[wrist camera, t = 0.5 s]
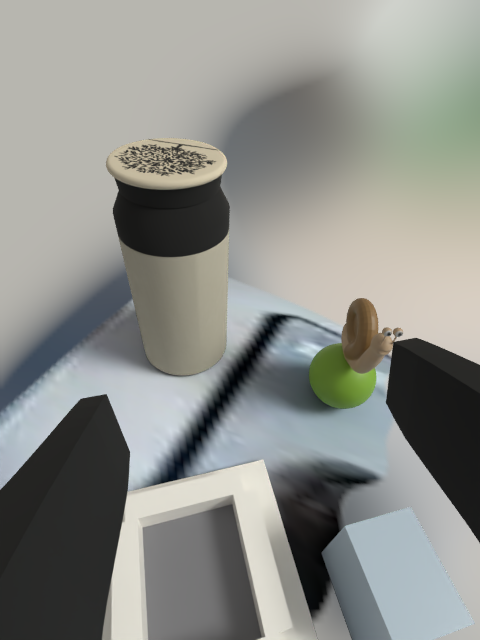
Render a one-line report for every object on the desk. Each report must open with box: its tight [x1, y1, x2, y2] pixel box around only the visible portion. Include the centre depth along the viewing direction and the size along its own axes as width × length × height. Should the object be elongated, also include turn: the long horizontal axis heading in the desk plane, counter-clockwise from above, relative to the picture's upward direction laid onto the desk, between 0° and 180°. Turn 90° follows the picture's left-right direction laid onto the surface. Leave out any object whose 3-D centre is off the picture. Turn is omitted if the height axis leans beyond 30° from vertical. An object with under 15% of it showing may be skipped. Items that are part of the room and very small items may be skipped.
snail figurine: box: [309, 298, 403, 409], centre depth 27 cm, size 5×6×12 cm
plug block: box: [322, 507, 475, 640], centre depth 19 cm, size 5×4×6 cm
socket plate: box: [102, 460, 318, 640], centre depth 20 cm, size 12×12×2 cm
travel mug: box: [106, 138, 230, 375], centre depth 28 cm, size 8×8×18 cm
